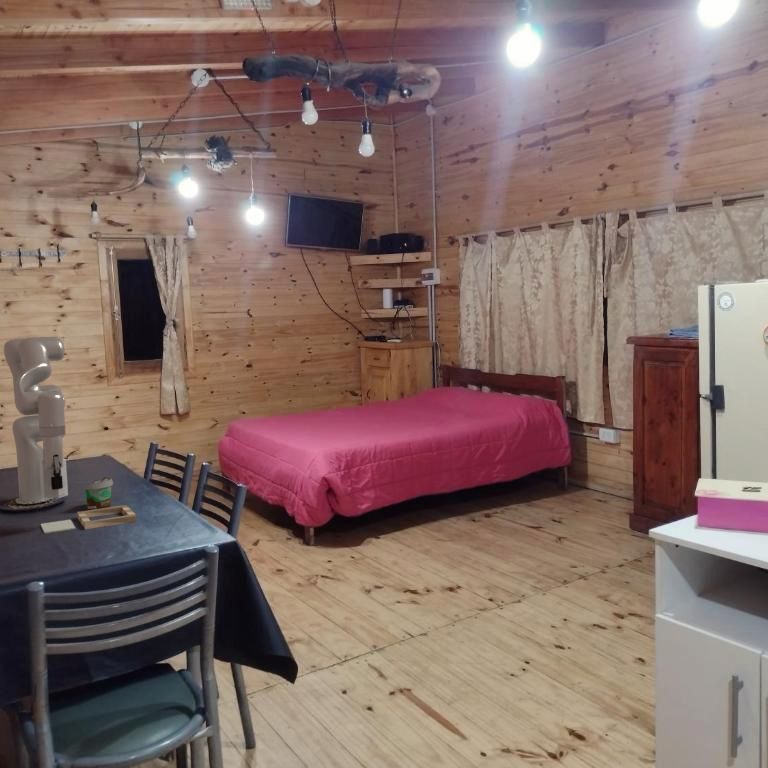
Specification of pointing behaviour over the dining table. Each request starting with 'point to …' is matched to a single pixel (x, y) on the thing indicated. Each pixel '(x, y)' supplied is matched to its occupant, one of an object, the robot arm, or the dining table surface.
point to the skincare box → (47, 482)
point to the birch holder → (87, 524)
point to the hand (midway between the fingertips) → (55, 486)
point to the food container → (99, 493)
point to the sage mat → (57, 526)
